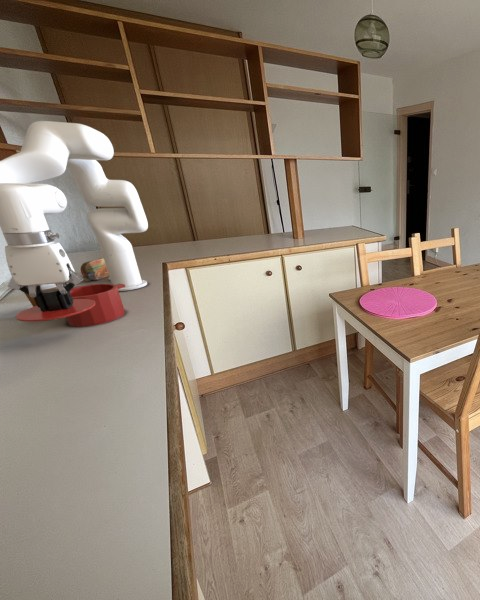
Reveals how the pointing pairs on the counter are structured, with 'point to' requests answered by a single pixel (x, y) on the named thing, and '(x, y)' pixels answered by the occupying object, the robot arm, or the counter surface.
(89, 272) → the tin
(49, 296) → the pot lid
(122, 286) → the pot
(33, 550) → the counter surface
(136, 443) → the counter surface
